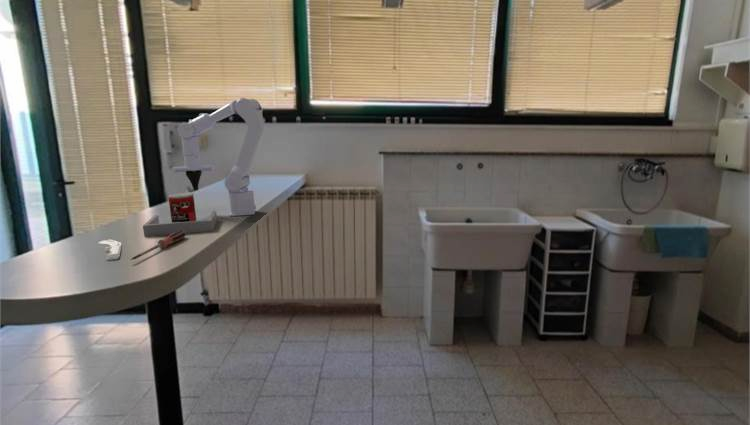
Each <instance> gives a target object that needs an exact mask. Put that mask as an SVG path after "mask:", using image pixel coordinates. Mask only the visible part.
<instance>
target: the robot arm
mask: <svg viewBox="0 0 750 425" xmlns="http://www.w3.org/2000/svg"><path fill="white" fill-rule="evenodd" d="M263 110H264V109H263V107H262V105H261V104H260V102H259V101H258V100H257V99H254V98H245V97H240V98H238V99H237V100H233V101H231V102H230V103H227V104H225V105H224V106H222V107H220V108H219V109H217V110H216V111H214V112H211V113H210V114H209V113H203V112H202V113H199V114H198V116H197V117H195V118H193V119H189V120H188V122H181V123H180V124H179V125H178V126H177V134H178V136H179V137H180V138H181V143H182V152H183V160H184V166H173V167H172V168H171V170H172V173H173V174H175V173H185V176H186V178H188V180H189V182H190V184H191V186H192V189H193V191H199V183H200V180H201V175H202V173H203V172H214V170H215V167H214V165H202V161H201V153H200V152H201V151H200V143H199V137H200V135H202V134H203V133H205V132H207V131H209V130H211V129H213V128H215V126H216V123H217V122H219V121H221V120H224V119H226V118H229V117H230V116H232V115H238V116H239V117H241V118H242V119H243V120H244V122H245V123H246V125H247V130H246V132H245V135H244V139H243V142H242V144H241V147H240V150H239V154H238V156H237V159H236V163H235V165H234V166H233V168H232V169H231V170H230V173H229V175H228V176H227V177H226V178H225V179H224V186H225V187H224V188H225V189H226V190H227V191H228V199H229V210H230V211H229V215H228V217H234V216H249V215H255V214H256V210H257V209H256V207H257V206H256V204H255V194H254V193H255V192H254V190H249V188H248V187H249V185H250V182H251V180H250V175H251V170H250V168H251V164H252V163H253V159H254V156H255V154H256V152H257V149H258V146H259V143H260V140H261V137H262V134H263V131H264V129H265V122H264V116H263Z"/></svg>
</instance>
